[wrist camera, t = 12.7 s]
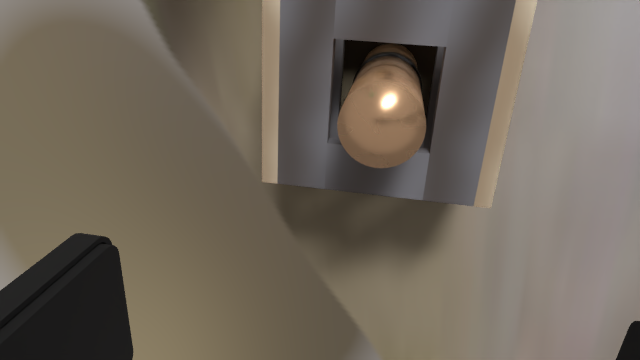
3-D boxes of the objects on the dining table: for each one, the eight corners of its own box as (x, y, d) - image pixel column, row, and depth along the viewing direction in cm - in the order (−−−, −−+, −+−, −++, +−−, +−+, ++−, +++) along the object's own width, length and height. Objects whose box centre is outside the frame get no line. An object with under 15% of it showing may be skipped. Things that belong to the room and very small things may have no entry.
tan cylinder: (422, 43, 33) (434, 85, 20) (414, 102, 34) (421, 174, 22) (363, 39, 33) (338, 76, 21) (358, 97, 35) (332, 165, 22)
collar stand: (505, -13, 30) (539, -11, 23) (472, 158, 35) (490, 208, 28) (295, -25, 32) (262, -26, 25) (291, 139, 37) (262, 181, 29)
